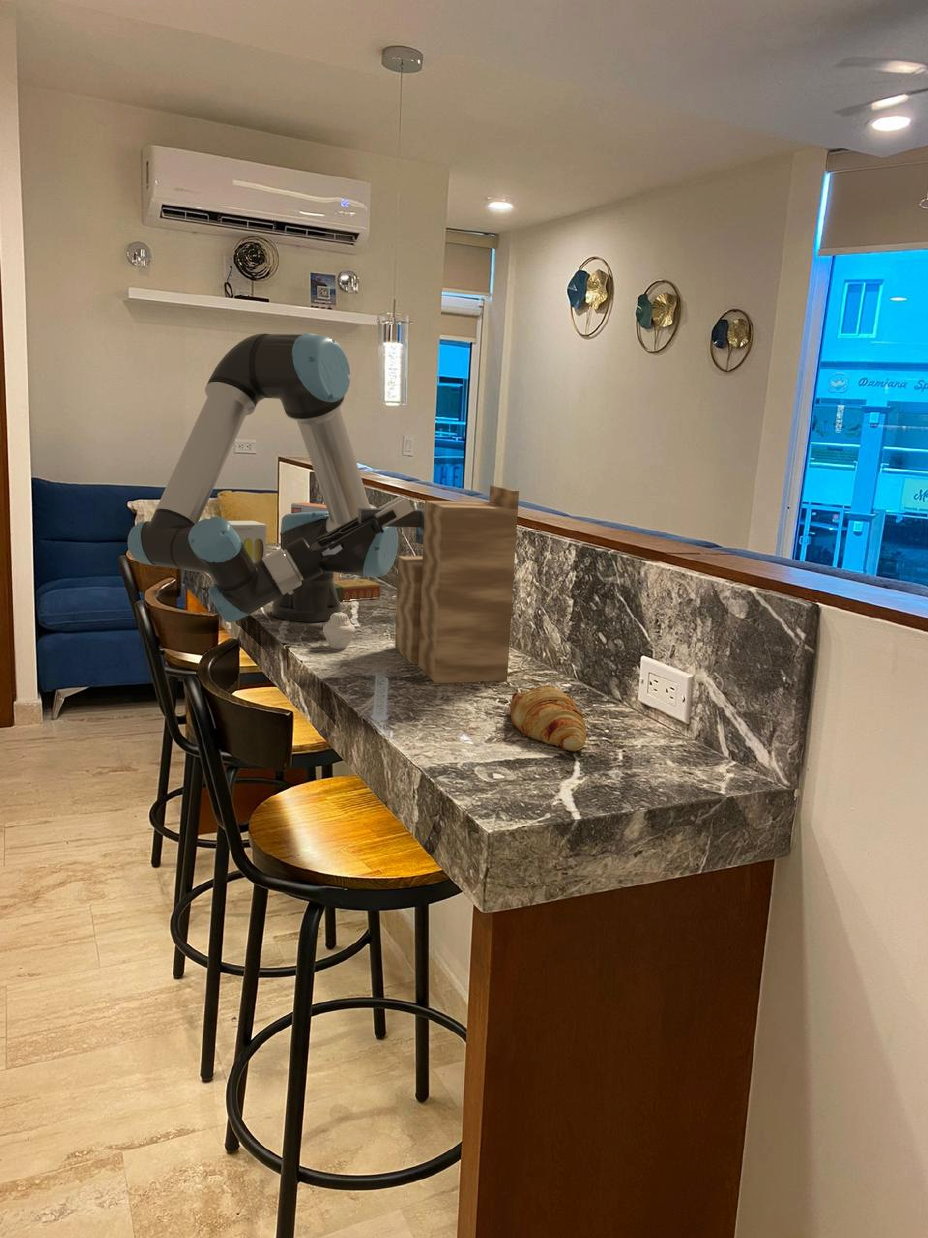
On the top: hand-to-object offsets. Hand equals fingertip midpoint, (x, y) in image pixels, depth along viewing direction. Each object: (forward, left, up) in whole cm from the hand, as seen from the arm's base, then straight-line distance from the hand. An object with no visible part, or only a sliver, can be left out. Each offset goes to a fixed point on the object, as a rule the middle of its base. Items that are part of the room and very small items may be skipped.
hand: (406, 503), depth 171 cm
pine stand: (+7, +7, -29) cm, 31 cm away
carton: (-58, -1, -29) cm, 65 cm away
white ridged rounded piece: (-8, -11, -29) cm, 32 cm away
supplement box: (-71, -24, -29) cm, 80 cm away
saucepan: (0, +2, -7) cm, 7 cm away
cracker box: (-79, -5, -29) cm, 84 cm away
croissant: (+46, +10, -29) cm, 56 cm away
